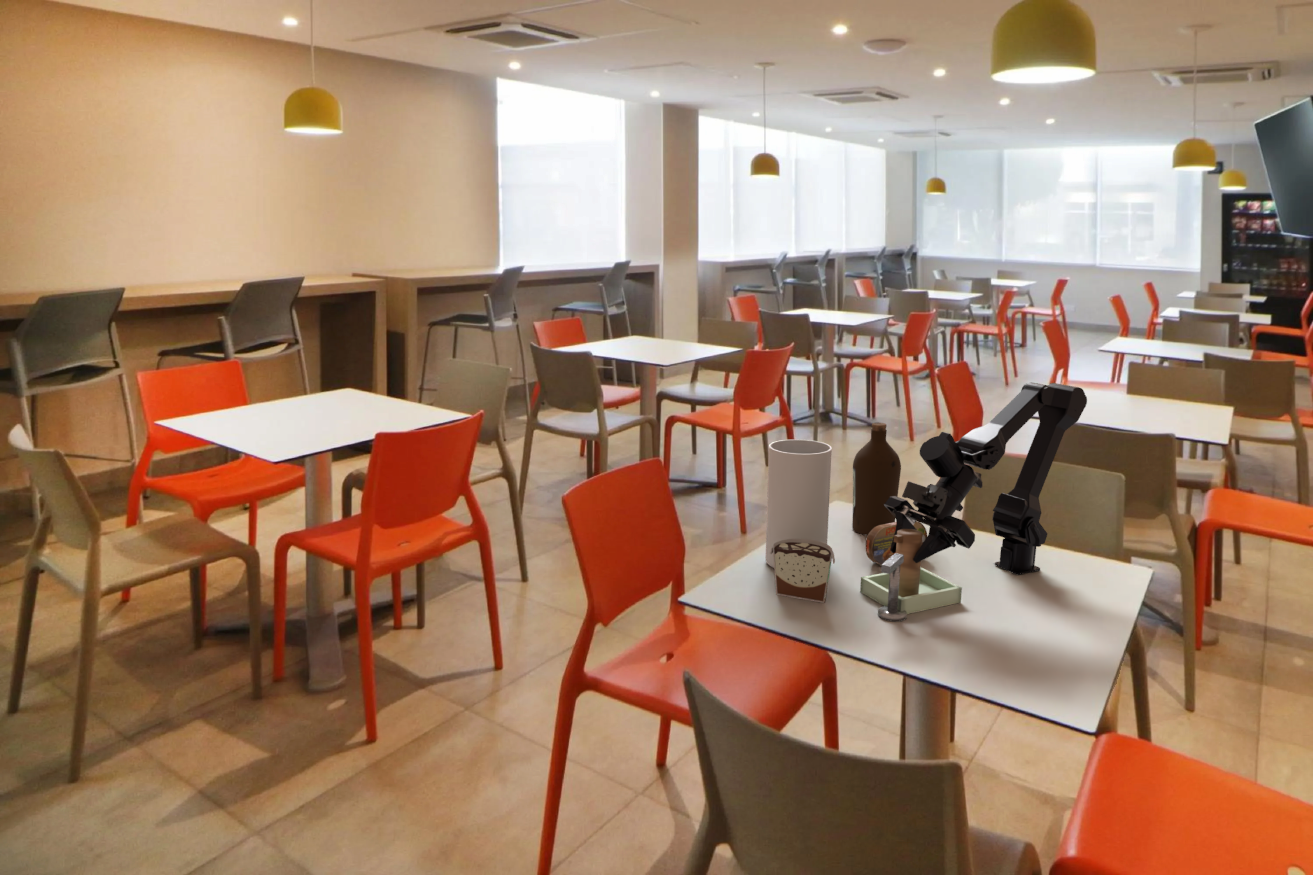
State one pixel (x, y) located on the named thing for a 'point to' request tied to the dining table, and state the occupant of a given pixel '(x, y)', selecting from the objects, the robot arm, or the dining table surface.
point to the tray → (930, 595)
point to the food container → (802, 568)
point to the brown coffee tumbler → (908, 560)
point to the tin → (885, 541)
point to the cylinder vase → (797, 492)
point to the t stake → (892, 589)
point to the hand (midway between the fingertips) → (903, 556)
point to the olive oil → (874, 481)
